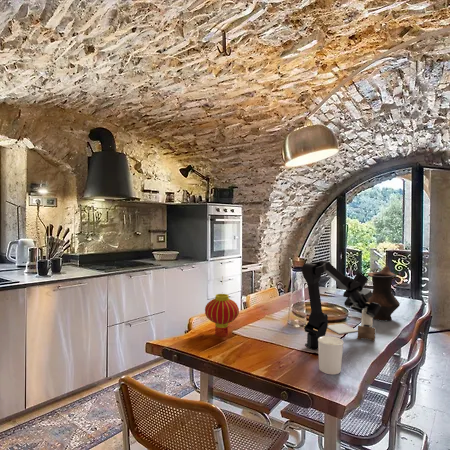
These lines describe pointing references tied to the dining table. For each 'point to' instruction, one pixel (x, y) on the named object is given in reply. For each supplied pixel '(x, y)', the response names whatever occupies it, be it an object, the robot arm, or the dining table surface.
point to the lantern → (221, 312)
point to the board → (341, 328)
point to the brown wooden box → (366, 333)
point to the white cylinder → (330, 354)
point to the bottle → (366, 319)
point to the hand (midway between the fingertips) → (369, 315)
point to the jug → (383, 294)
